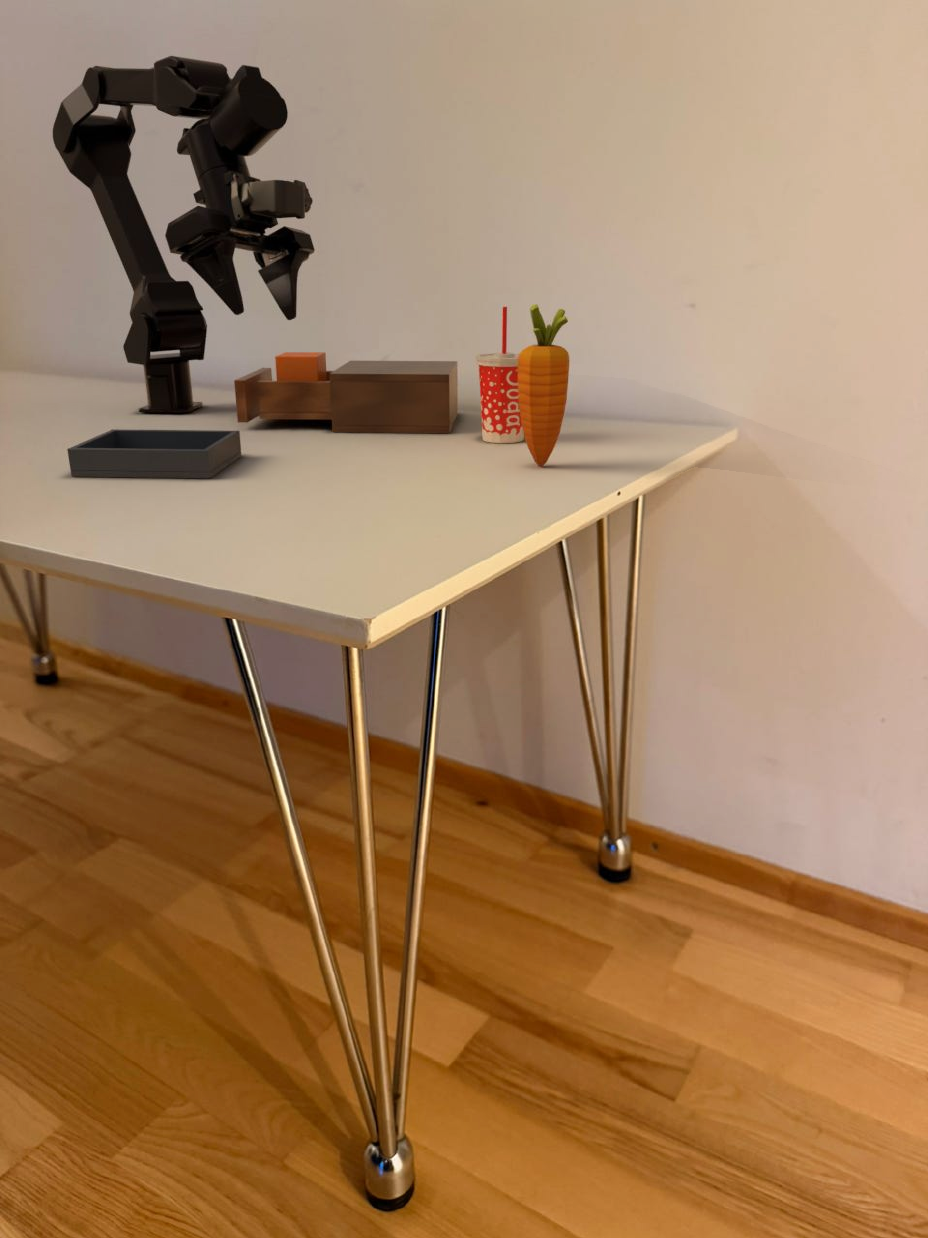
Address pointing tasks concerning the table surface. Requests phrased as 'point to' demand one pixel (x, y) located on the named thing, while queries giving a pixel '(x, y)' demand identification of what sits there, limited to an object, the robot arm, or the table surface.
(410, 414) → the cabinet
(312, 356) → the cube
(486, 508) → the table surface
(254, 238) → the robot arm
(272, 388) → the drawer
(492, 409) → the beverage cup
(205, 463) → the tray
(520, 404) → the carrot
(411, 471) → the table surface
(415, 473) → the table surface
